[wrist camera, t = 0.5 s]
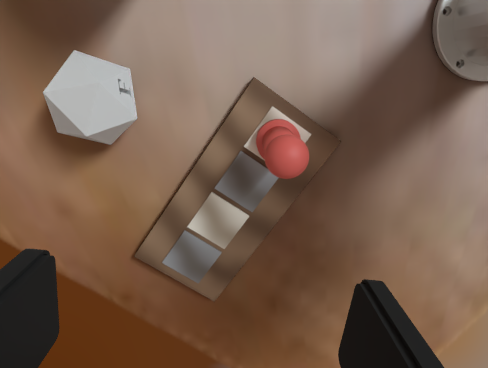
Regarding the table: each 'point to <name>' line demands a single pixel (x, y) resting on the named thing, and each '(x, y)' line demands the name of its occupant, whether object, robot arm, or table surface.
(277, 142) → the pawn
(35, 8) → the table surface
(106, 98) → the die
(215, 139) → the board
